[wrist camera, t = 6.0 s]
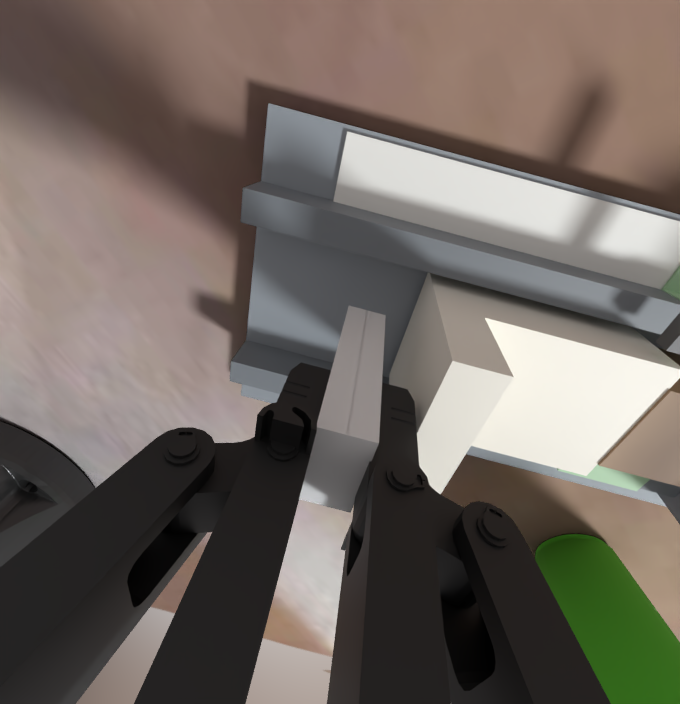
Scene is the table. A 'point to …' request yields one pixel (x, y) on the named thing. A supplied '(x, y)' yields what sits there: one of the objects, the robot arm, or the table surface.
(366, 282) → the base
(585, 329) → the cream block
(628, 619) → the cup
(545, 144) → the table surface
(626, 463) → the tan wooden cube
